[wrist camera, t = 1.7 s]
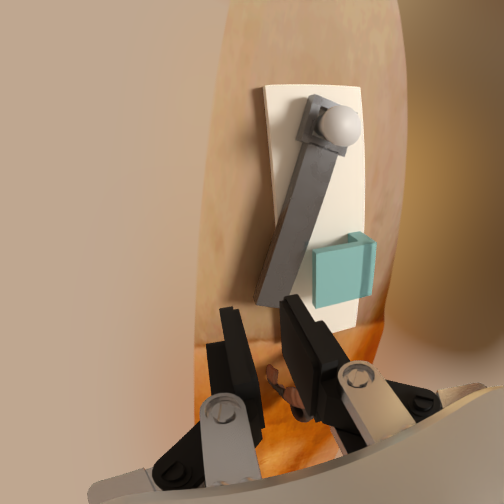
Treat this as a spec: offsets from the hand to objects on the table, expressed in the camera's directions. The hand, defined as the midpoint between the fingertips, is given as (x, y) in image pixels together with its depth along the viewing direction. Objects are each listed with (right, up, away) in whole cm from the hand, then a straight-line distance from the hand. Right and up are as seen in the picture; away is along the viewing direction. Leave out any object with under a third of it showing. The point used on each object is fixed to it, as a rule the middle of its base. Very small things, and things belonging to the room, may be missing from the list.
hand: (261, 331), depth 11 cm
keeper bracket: (+8, +2, +19) cm, 20 cm away
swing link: (+4, +7, +15) cm, 17 cm away
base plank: (+7, +6, +18) cm, 20 cm away
